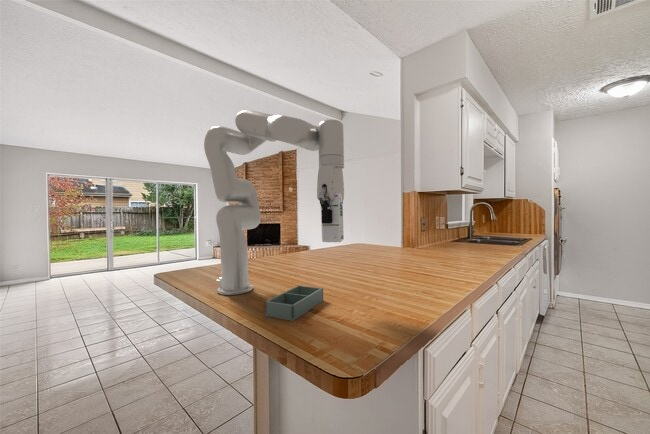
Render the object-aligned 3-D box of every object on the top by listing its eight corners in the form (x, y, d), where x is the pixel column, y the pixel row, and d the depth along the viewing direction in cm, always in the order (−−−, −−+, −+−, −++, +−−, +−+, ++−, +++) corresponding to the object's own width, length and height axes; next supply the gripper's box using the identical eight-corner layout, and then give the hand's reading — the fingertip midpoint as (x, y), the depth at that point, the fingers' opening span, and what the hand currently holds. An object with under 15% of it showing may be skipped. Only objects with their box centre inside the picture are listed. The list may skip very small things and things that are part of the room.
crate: (293, 320, 74) (292, 305, 74) (265, 315, 78) (265, 301, 78) (323, 300, 90) (323, 288, 90) (298, 297, 94) (298, 285, 94)
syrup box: (341, 242, 81) (340, 192, 80) (321, 242, 82) (320, 192, 82) (343, 240, 87) (343, 193, 86) (325, 239, 88) (324, 193, 87)
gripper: (332, 167, 93) (333, 221, 94) (306, 160, 77) (307, 224, 78) (353, 165, 90) (354, 221, 90) (330, 157, 74) (331, 224, 75)
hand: (332, 222), depth 84 cm, fingers closed on syrup box, 6 cm apart
